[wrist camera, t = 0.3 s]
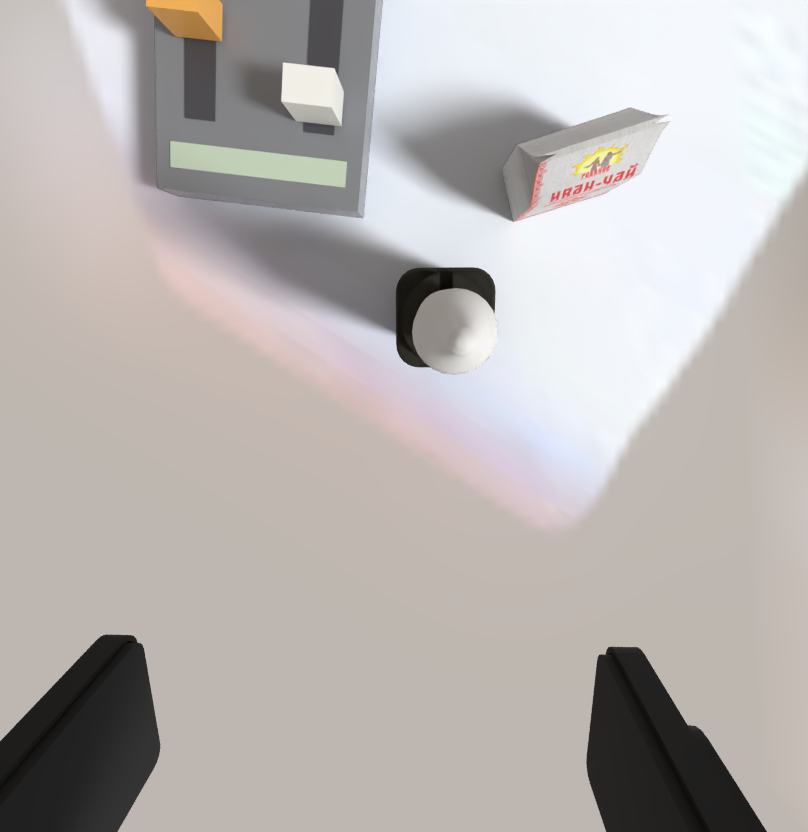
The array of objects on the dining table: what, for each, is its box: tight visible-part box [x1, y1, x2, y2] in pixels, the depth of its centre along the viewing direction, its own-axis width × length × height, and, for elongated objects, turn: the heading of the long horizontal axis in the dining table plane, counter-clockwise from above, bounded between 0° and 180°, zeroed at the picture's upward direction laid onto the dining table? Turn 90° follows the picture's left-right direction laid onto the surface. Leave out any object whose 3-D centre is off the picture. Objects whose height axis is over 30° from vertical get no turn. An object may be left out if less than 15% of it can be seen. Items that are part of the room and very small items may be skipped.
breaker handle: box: [146, 0, 223, 42], centre depth 28 cm, size 2×3×3 cm, turn 83°
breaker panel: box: [155, 0, 383, 218], centre depth 30 cm, size 20×14×7 cm
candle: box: [396, 268, 498, 375], centre depth 25 cm, size 5×5×25 cm
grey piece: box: [502, 108, 670, 222], centre depth 30 cm, size 4×7×10 cm, turn 106°
